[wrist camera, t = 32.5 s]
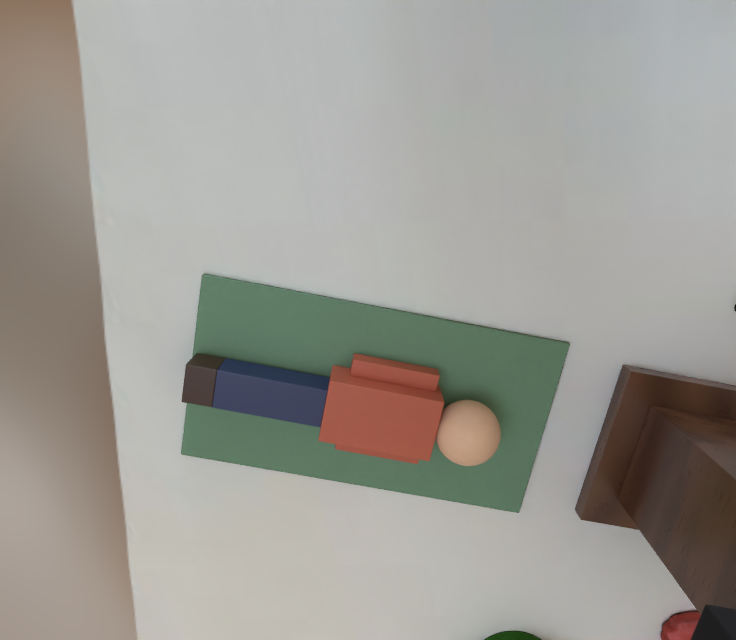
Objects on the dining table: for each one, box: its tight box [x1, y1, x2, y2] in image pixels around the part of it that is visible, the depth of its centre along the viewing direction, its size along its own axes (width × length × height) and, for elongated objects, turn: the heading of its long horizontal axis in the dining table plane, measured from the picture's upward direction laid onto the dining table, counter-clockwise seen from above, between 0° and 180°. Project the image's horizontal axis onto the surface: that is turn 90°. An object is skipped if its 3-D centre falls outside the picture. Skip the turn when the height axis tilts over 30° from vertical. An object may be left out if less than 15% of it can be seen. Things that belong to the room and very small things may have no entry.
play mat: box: [181, 274, 570, 513], centre depth 49 cm, size 30×16×1 cm, turn 79°
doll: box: [182, 353, 501, 466], centre depth 46 cm, size 25×8×5 cm, turn 79°
